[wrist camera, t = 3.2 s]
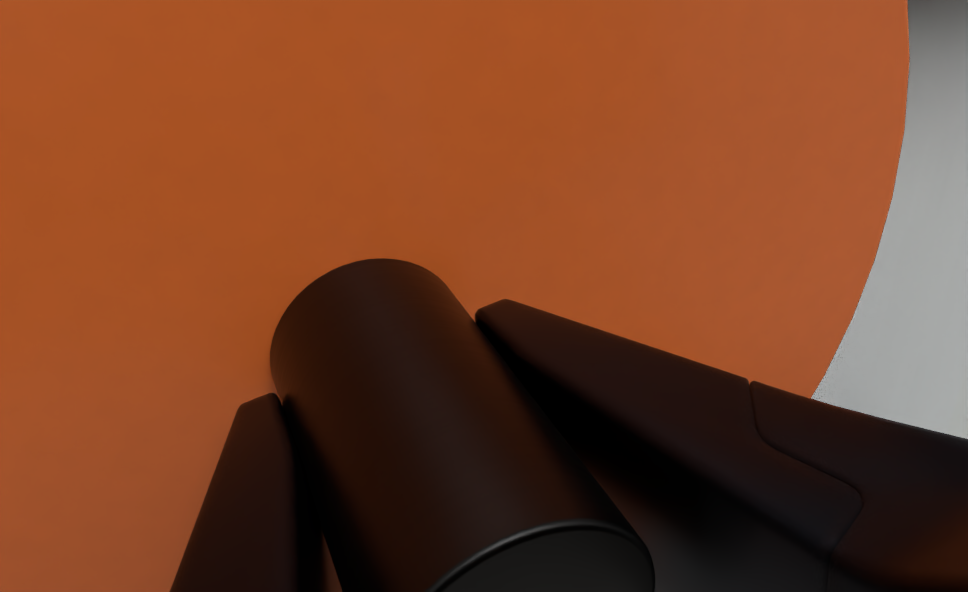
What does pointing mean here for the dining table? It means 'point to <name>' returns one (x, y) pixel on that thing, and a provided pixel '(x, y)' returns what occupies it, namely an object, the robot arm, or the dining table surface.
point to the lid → (406, 256)
